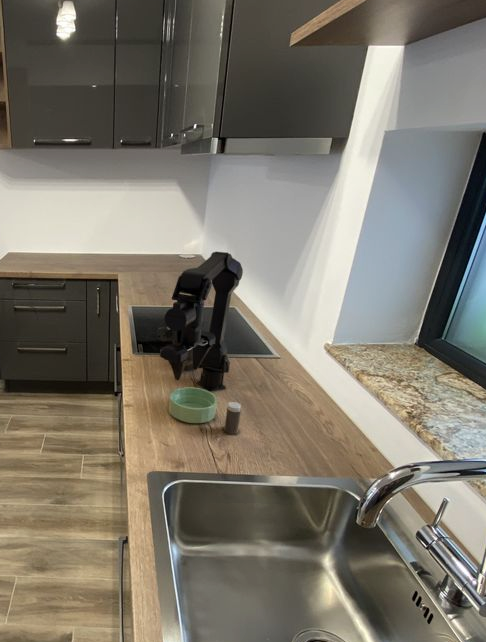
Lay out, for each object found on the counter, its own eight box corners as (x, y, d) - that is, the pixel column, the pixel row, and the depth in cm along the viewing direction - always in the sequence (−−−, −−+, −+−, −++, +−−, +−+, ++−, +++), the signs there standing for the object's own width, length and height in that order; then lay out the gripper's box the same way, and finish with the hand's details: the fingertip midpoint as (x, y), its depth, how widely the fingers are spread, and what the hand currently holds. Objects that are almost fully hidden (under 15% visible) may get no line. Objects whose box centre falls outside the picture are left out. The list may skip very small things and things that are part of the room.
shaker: (232, 426, 122) (236, 400, 118) (240, 433, 119) (244, 407, 115) (221, 428, 121) (224, 402, 117) (229, 435, 117) (232, 409, 114)
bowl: (199, 399, 136) (201, 384, 134) (224, 420, 125) (226, 404, 123) (160, 406, 132) (161, 391, 130) (183, 428, 121) (184, 412, 119)
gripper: (183, 306, 126) (179, 356, 133) (144, 322, 114) (142, 377, 120) (219, 314, 120) (213, 367, 126) (181, 331, 107) (177, 389, 113)
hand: (186, 374), depth 121 cm, fingers open, 9 cm apart
